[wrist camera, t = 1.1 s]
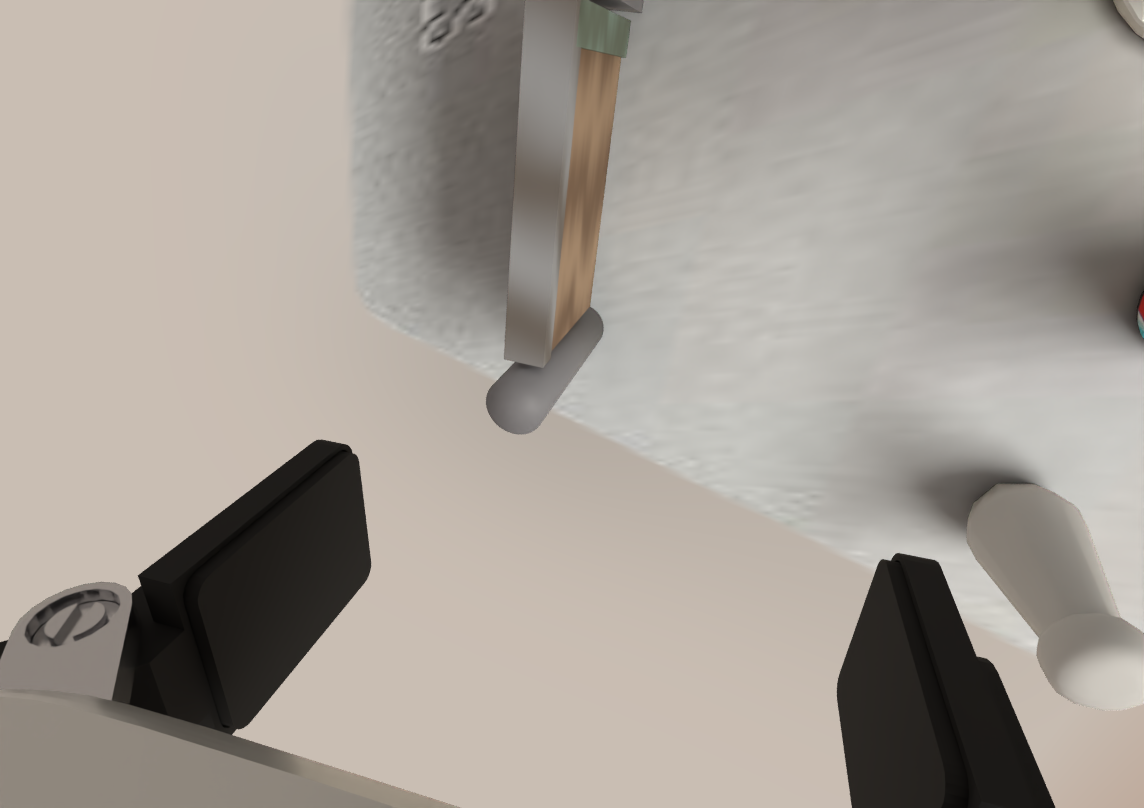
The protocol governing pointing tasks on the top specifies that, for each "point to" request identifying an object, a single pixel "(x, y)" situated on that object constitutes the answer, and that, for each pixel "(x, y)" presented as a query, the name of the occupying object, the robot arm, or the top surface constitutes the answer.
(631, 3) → the post
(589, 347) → the hinge post
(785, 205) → the top surface
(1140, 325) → the beverage can
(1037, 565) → the salt shaker
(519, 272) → the gate
